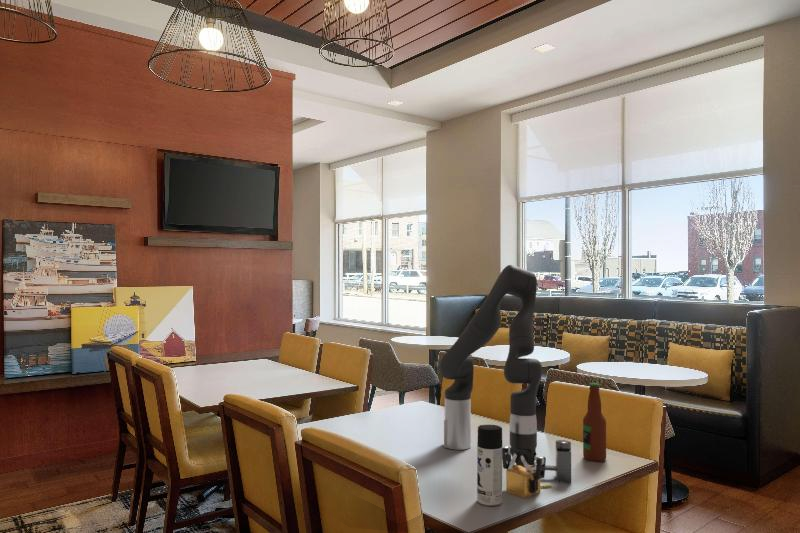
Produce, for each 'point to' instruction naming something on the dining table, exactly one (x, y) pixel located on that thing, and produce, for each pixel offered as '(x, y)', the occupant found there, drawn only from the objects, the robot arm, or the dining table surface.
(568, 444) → the grey mallet
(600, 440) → the bottle
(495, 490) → the spray can
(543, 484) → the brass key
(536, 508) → the dining table surface
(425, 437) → the dining table surface
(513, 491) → the wooden block
